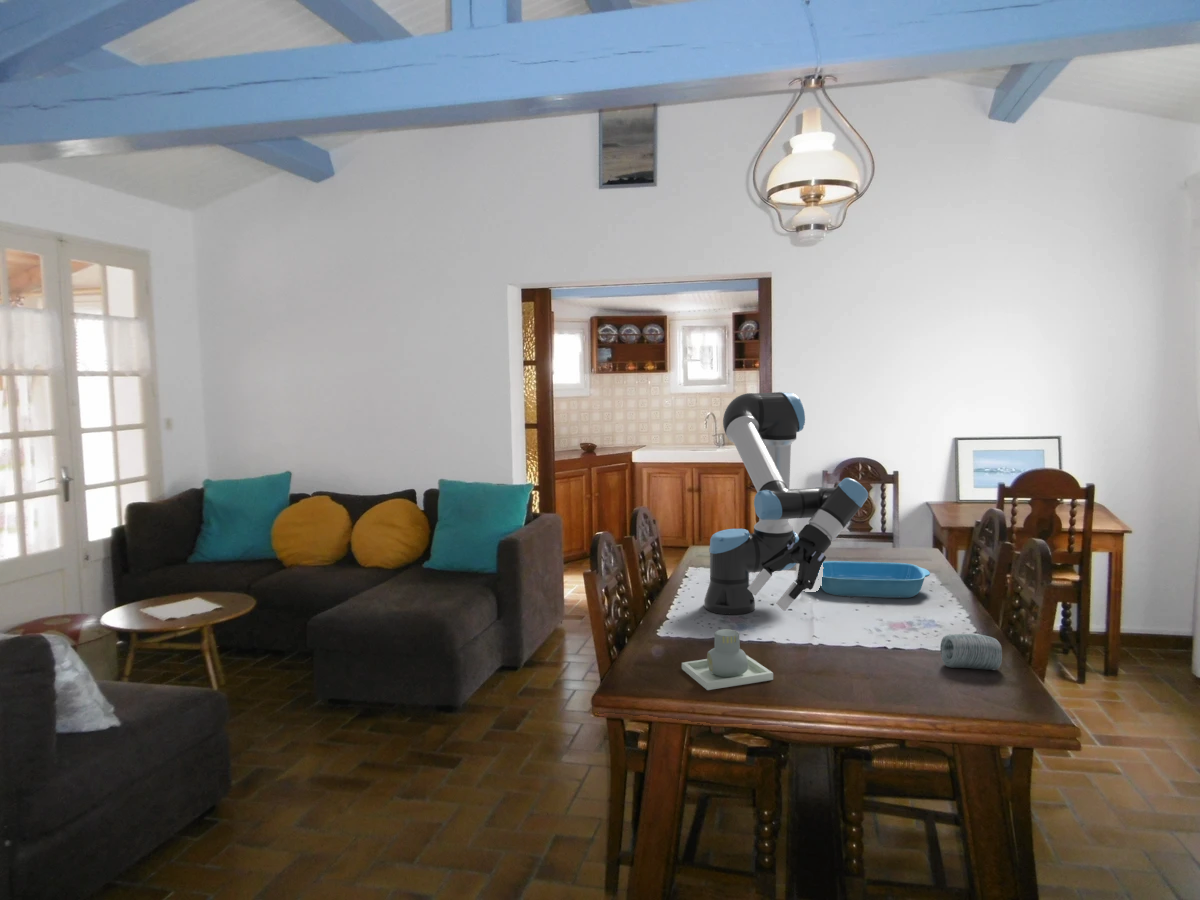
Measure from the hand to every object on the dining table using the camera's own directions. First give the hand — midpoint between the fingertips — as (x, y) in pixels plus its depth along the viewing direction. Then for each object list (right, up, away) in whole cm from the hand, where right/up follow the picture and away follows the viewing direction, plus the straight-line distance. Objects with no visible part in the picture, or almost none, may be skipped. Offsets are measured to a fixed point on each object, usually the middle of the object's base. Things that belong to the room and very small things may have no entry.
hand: (765, 599), depth 198 cm
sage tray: (-10, -18, -2) cm, 21 cm away
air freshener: (-9, -18, -2) cm, 20 cm away
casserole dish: (+47, -10, +67) cm, 83 cm away
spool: (+49, -17, 0) cm, 52 cm away
